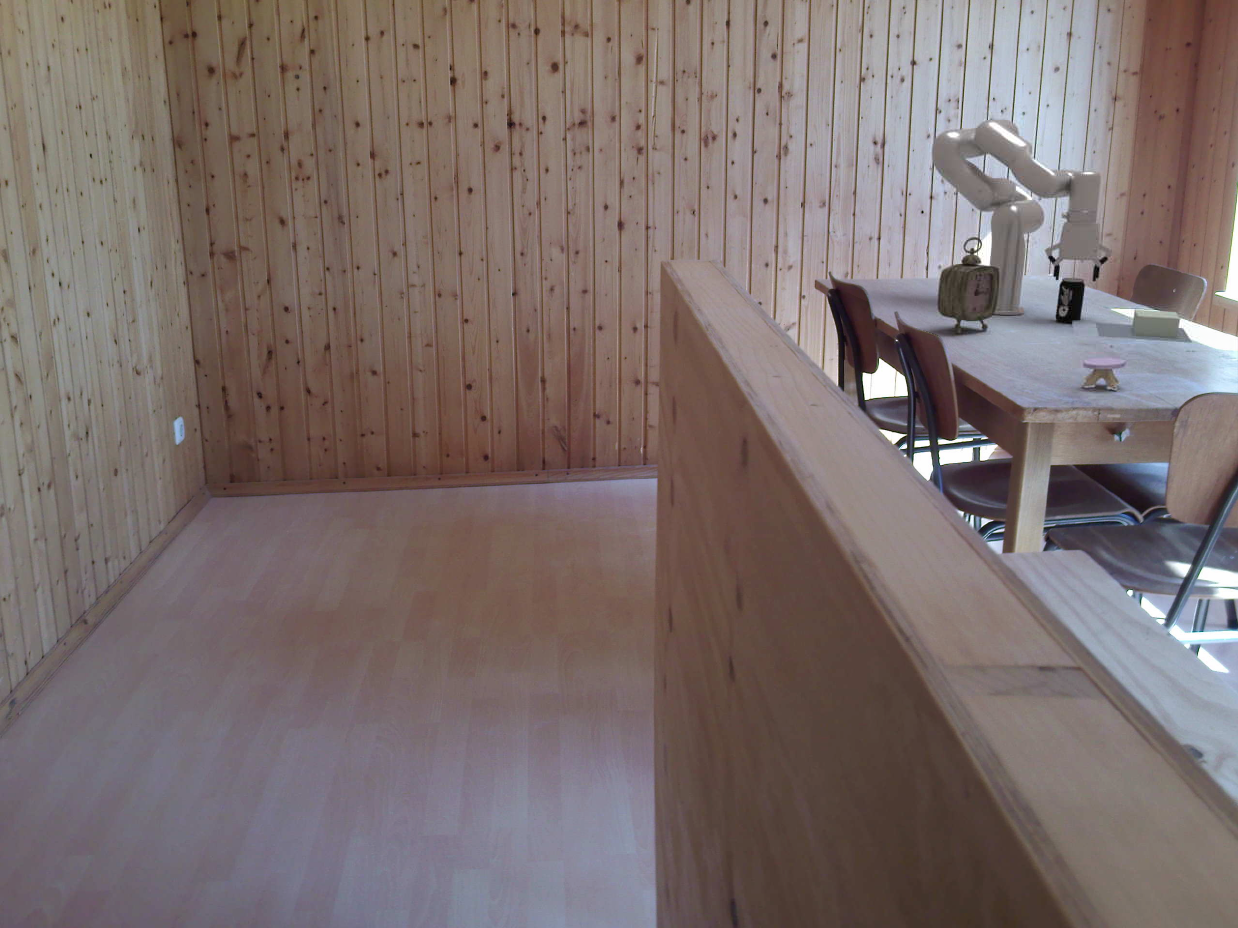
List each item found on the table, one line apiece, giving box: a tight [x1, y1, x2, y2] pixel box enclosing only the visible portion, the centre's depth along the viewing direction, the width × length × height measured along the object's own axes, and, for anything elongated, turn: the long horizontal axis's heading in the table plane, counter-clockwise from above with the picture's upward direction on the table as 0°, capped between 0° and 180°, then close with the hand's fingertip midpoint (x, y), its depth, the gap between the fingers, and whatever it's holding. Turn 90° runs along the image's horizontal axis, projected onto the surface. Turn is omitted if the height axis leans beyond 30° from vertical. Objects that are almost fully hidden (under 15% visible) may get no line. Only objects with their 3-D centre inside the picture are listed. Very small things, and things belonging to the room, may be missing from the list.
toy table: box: [1082, 357, 1127, 390], centre depth 244 cm, size 10×9×6 cm
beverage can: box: [1055, 277, 1086, 325], centre depth 315 cm, size 7×7×12 cm
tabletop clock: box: [937, 236, 999, 335], centre depth 300 cm, size 14×9×25 cm, turn 123°
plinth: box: [1132, 309, 1181, 338], centre depth 297 cm, size 10×10×5 cm
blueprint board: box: [1095, 322, 1193, 343], centre depth 298 cm, size 22×20×1 cm
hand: (1075, 280), depth 313 cm, fingers open, 9 cm apart
